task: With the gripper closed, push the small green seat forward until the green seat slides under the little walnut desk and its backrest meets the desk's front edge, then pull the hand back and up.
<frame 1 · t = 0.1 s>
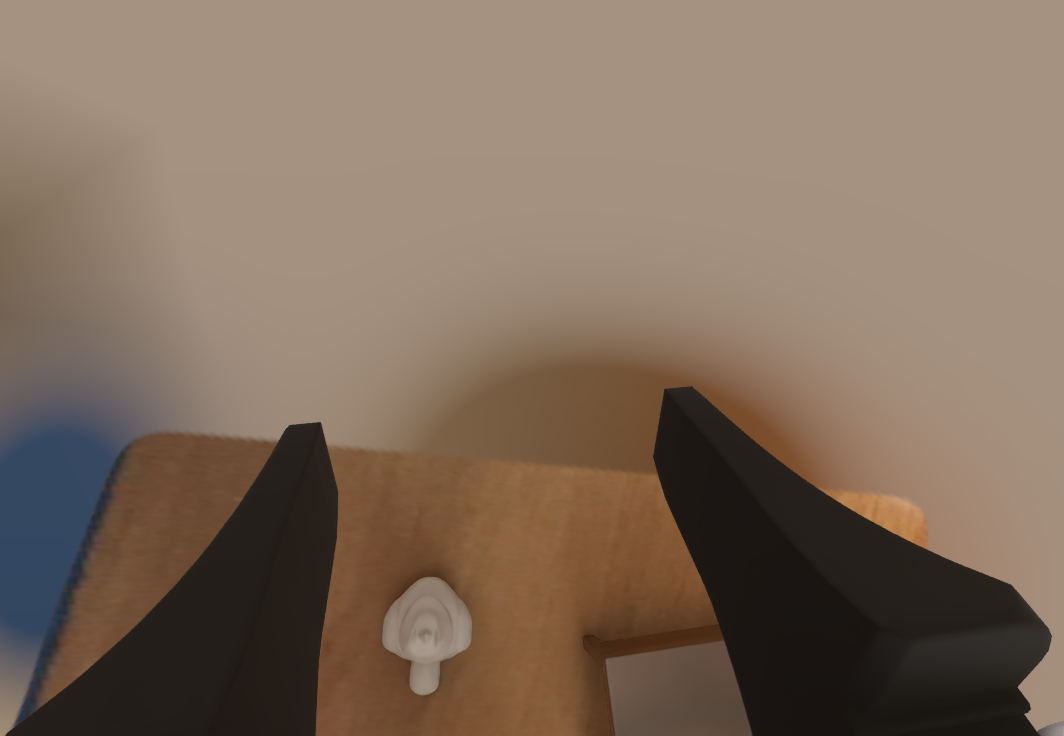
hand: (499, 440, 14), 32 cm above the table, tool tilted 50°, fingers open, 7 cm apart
white sculpted figure: (428, 625, 43), on the table
desk: (693, 692, 44), on the table
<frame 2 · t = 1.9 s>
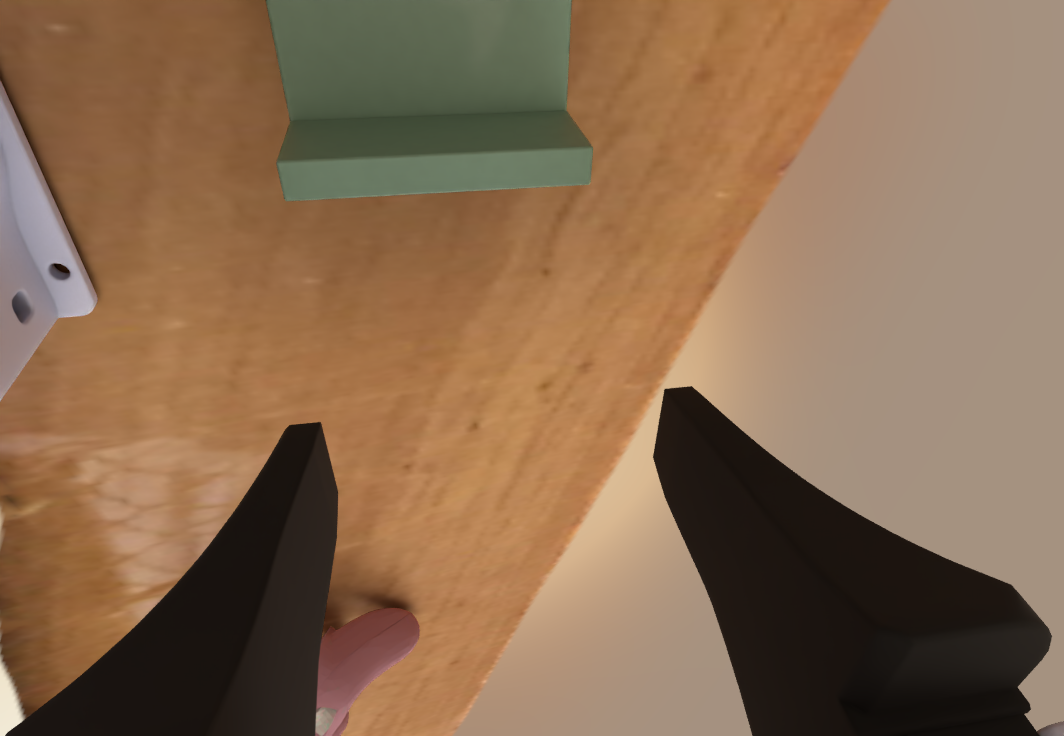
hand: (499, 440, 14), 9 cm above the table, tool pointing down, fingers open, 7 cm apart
video game controller: (326, 646, 33), on the table
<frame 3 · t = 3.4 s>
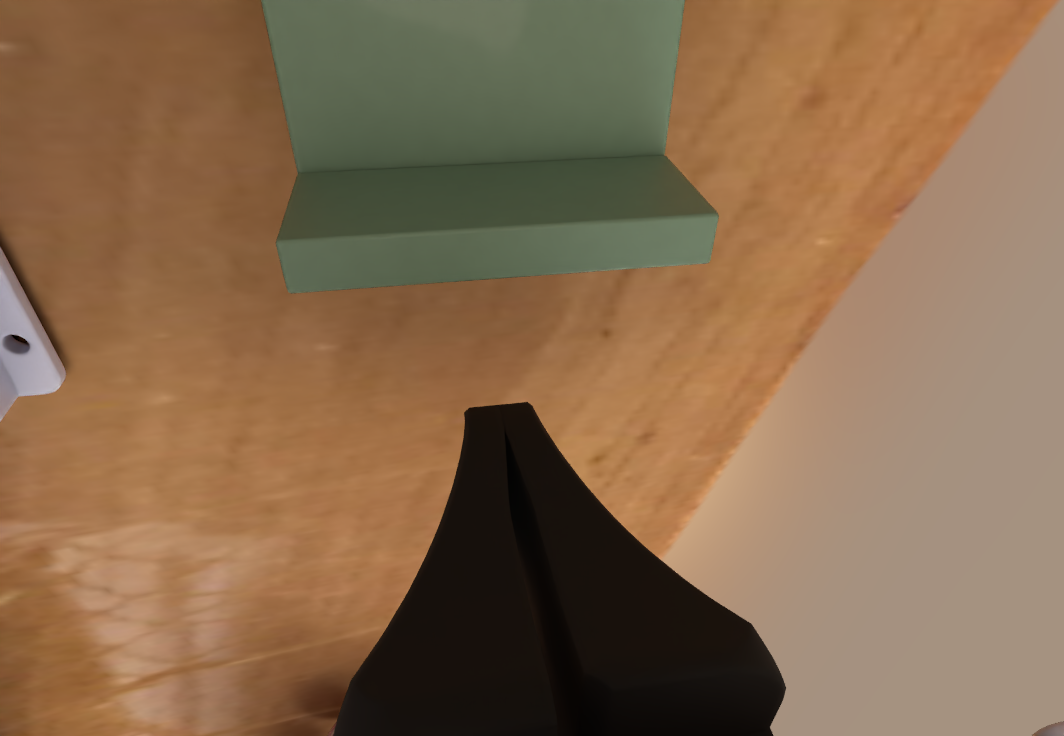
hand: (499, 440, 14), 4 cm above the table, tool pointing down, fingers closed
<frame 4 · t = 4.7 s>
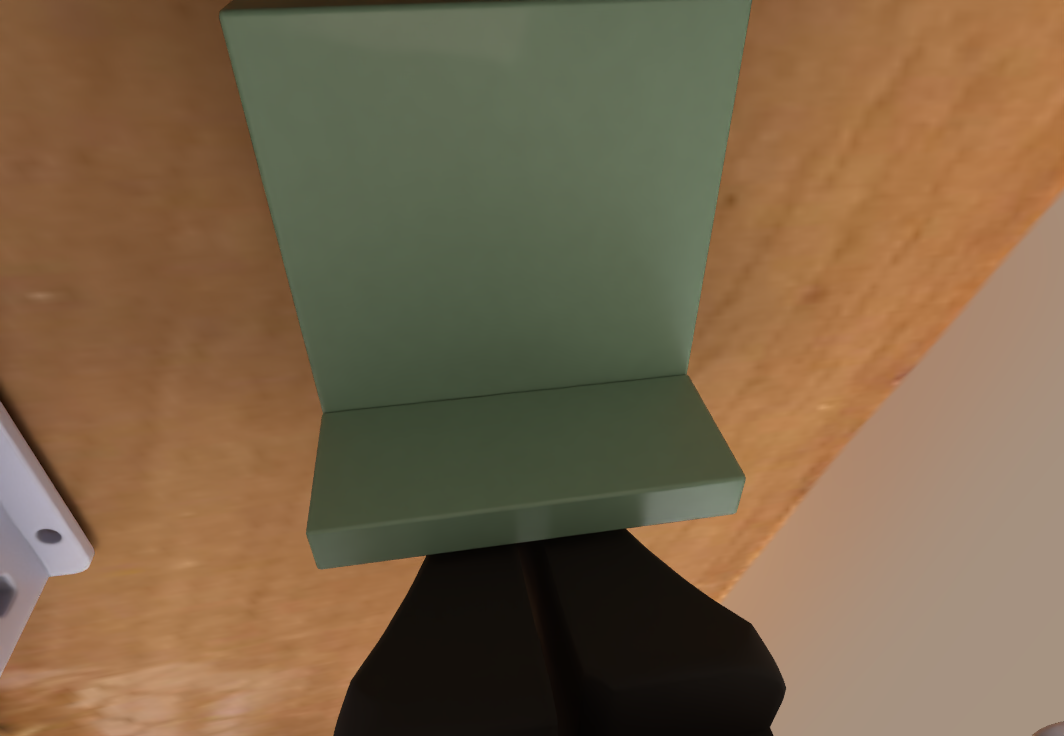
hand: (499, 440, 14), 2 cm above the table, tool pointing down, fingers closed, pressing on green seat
green seat: (480, 174, 13), on the table, touching gripper
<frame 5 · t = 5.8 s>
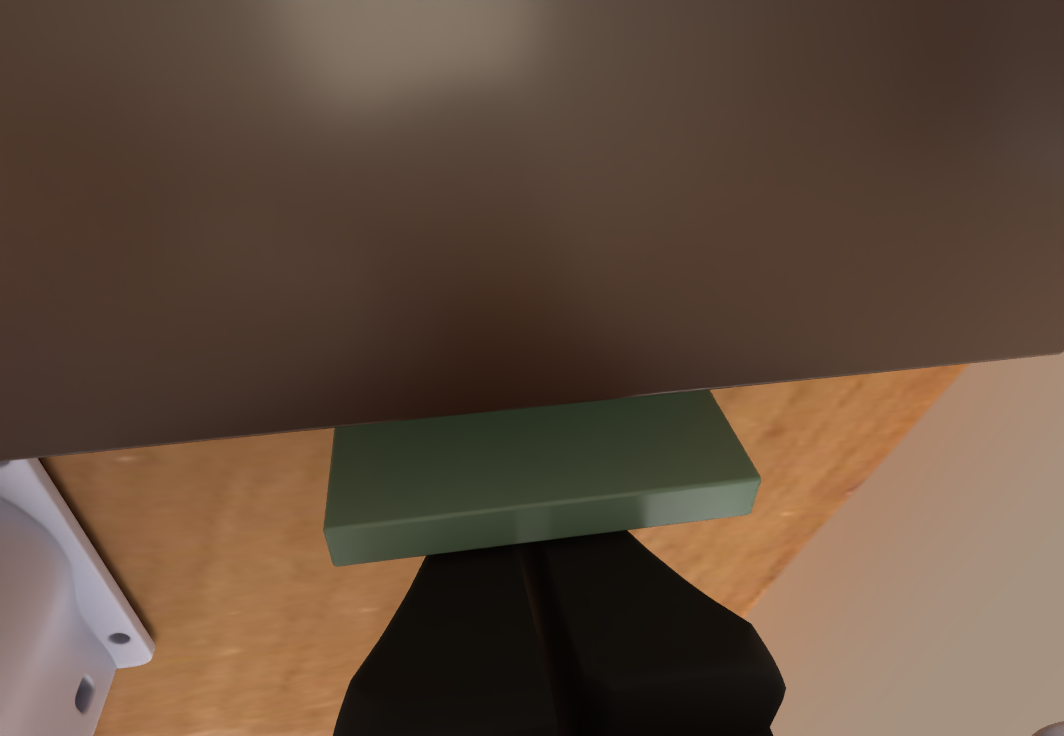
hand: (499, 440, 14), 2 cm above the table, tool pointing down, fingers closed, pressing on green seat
green seat: (493, 173, 13), on the table, touching gripper
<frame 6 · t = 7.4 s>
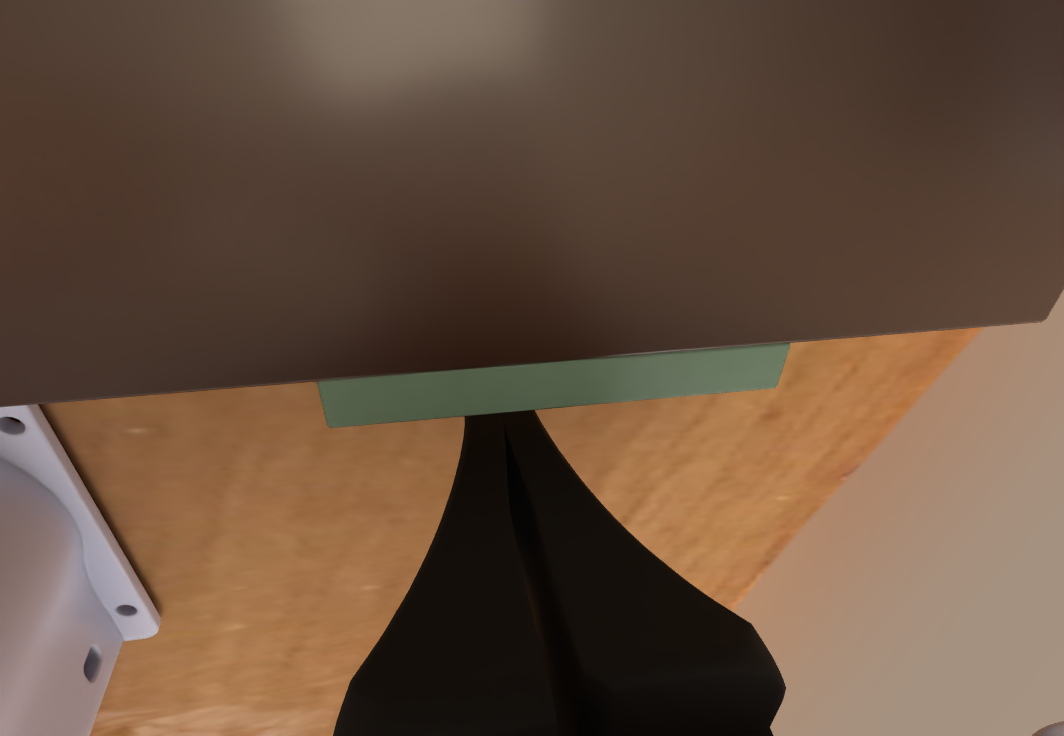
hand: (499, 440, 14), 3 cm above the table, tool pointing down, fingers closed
green seat: (502, 50, 12), on the table, touching desk
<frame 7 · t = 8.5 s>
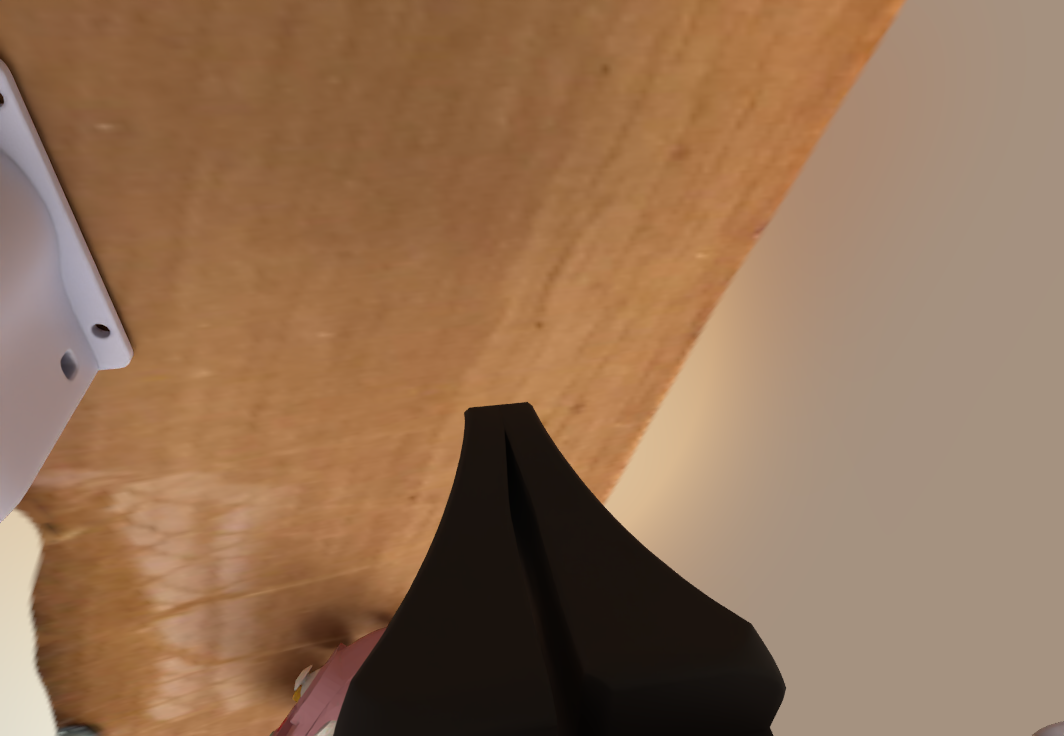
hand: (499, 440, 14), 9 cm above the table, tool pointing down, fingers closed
video game controller: (337, 661, 35), on the table
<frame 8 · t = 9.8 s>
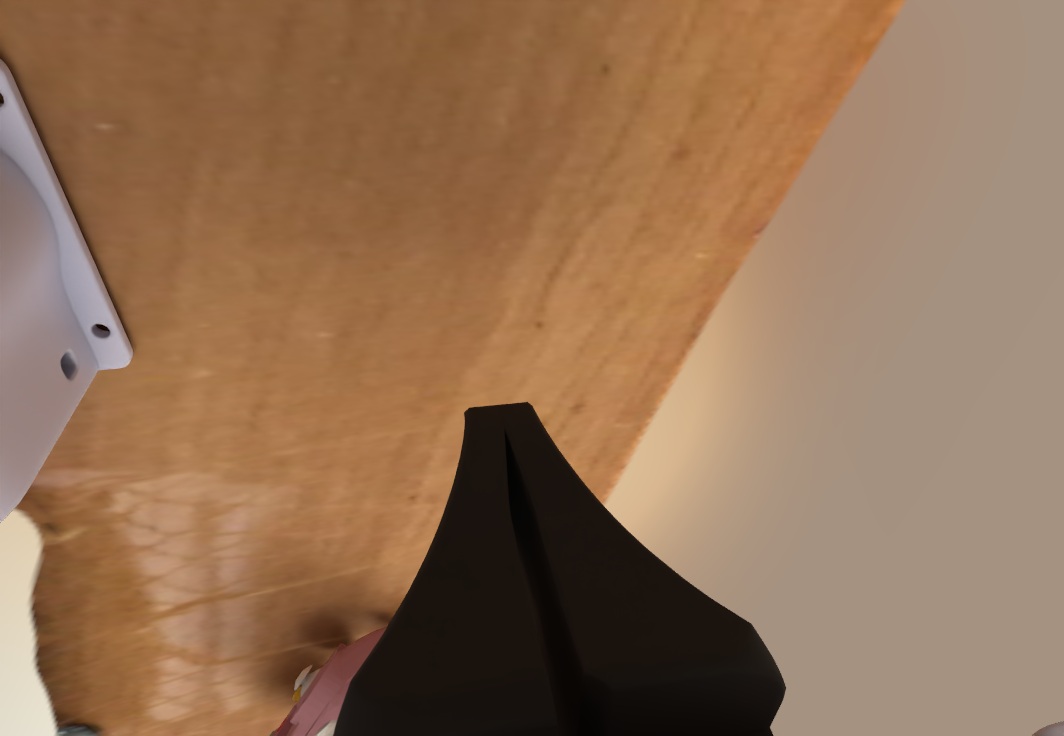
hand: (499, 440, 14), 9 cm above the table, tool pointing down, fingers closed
video game controller: (337, 661, 35), on the table
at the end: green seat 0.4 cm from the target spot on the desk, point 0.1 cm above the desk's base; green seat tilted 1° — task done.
